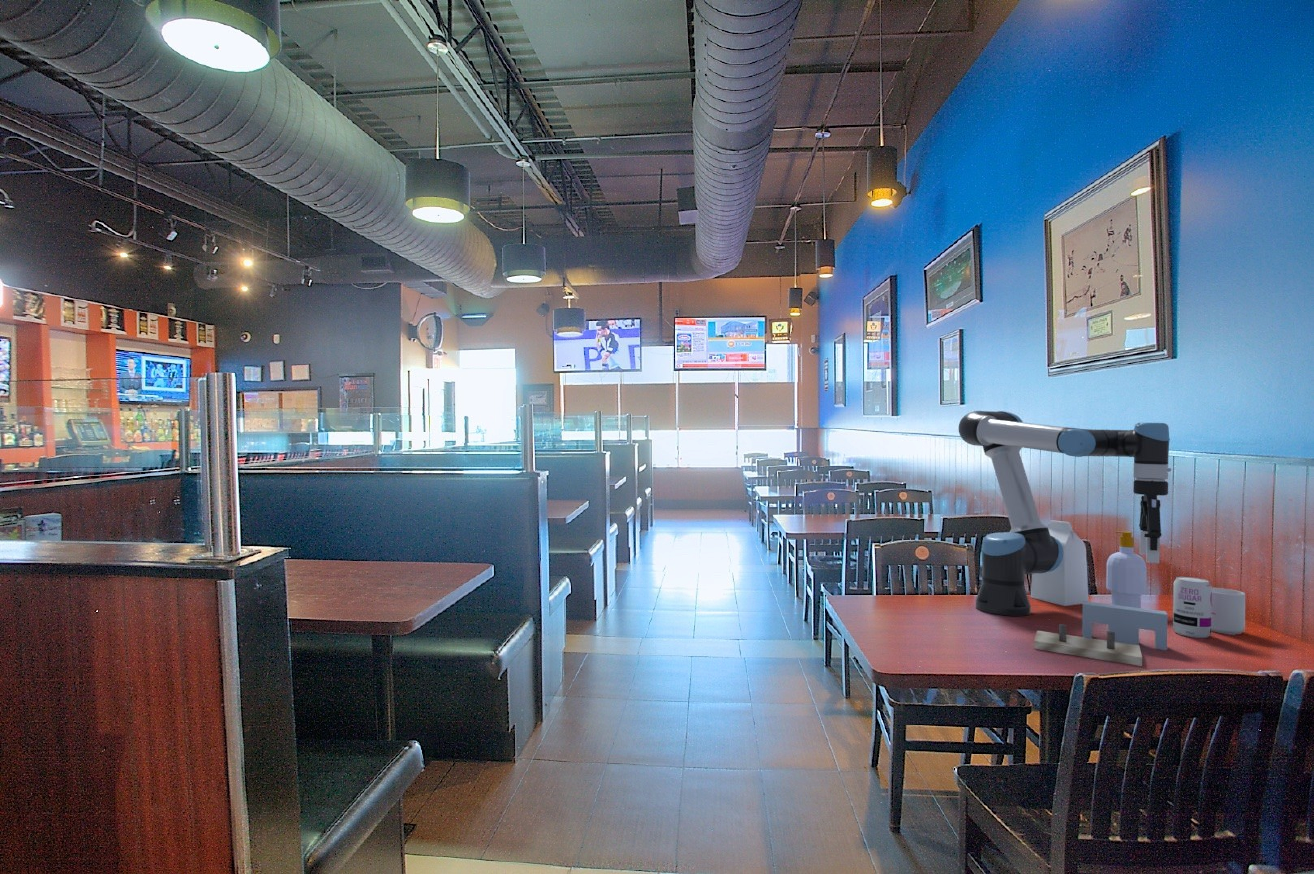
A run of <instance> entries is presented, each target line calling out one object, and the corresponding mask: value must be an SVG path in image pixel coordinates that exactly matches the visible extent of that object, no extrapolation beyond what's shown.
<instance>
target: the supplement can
mask: <svg viewBox="0 0 1314 874" xmlns="http://www.w3.org/2000/svg"><path fill="white" fill-rule="evenodd" d="M1172 583H1173V586H1172V588H1173V589H1172V591H1173V592H1172V593H1173V597H1172V603H1173V604H1172V630H1173V631H1175V633H1176V634H1178V635H1181V636H1184V637H1188V638H1197V639H1207V638H1209V637H1210V636H1212V631H1211V600H1212V588H1213V587H1212V585H1211V584H1210V581H1209V580H1207V579H1204V578H1200V577H1199V578H1198V577H1192V576H1178V577H1177V576H1176V578H1175V580H1174V581H1173V582H1172Z"/></svg>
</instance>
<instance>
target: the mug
mask: <svg viewBox="0 0 1314 874" xmlns="http://www.w3.org/2000/svg"><path fill="white" fill-rule="evenodd" d="M1245 630H1246V593H1245V592H1243V591H1240V590H1235V589H1231V588H1230V589H1229V588H1222V587H1212V600H1211V632H1214V633H1219V634H1223V635H1232V636H1234V635H1236V634H1238V635H1241V634H1243V633H1244V631H1245ZM1240 633H1241V634H1240ZM1236 636H1237V635H1236Z"/></svg>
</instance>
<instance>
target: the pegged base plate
mask: <svg viewBox="0 0 1314 874" xmlns="http://www.w3.org/2000/svg"><path fill="white" fill-rule="evenodd" d="M1067 630H1068V629H1067V624H1062V623H1061V624H1058V631H1059V632H1049V631H1043V630H1036V634H1035V637H1034V640H1033V649H1034V650H1039V651H1048V652H1052V653H1058V654H1065V655H1072V656H1077V657H1083V658H1087V659H1088V658H1089V659H1096V660H1101V661H1108V662H1114V663H1115V662H1116V663H1118V664H1119V663H1121V664H1126V665H1127V664H1128V665H1133V666H1139V667H1143V655H1142V652H1141V645H1140V644H1139V645H1132V644H1125V643H1118V642H1115V632H1112V631H1108V630H1107V631H1106V640H1104V639H1103V640H1102V639H1098V638H1097V639H1095V638H1092V639H1091V638H1085V637H1082V636H1077V635H1070V634H1067V633H1068V632H1067Z"/></svg>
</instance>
